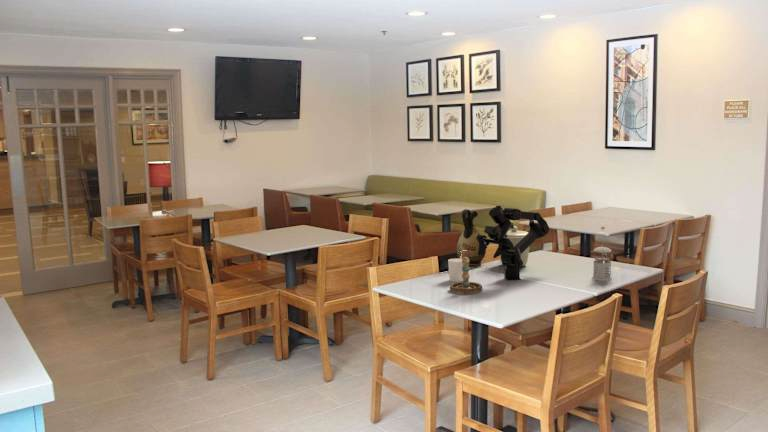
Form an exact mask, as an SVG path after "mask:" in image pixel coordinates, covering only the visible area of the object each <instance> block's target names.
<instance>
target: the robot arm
mask: <svg viewBox="0 0 768 432" xmlns="http://www.w3.org/2000/svg"><path fill="white" fill-rule="evenodd" d="M488 216H490V218H491V219H492V221H493V222H494V223H495V224H496V225H495V226H491V225H485V227H484V230H483V233H484V234H481V233H480V234H479V235H477V237H476V239H477V241H478V242H479V250H478V255H479V256H480V255H481V254H482V253H483V252H484V251H485V250H486V251H487V248H488V246H489V245H490V244H494V245H498V246H497V247H496V248H497V249H496V250H495V253H494V254H493V257H492V258H493V259H496V258H498V257H500V255H501V260H500V262H501V261H502V263H501V265H502V266H504V265H505V266H504V267H505V268H504V270H503V272H504V275H503V276H504V278H505V279H506V280H507V281H513V280H514V281H515V280H516V281H517V280H521V277H520V276H521V275H520V273H521V272H520V271H521V270H520V269H521V268H522V267H524V266H523V261H522V260H521V254H522V253H523V252H524V251H525V250H526V249H527V248H528V247H529V248H530V246H531V245H532V244H533V243H535V241H536V240H537V239H540V238H543V237H545V236H546V235H548V233H549V232H550V226H549V224H548V223H547V220H545V219H544V217H542V215H541V213H540V212H537V211H536V212H535V211H522V210H521V209H518V208H515V207H505V208H502V206H501V205H496V206H495V207H493V208H491V209H490V210H489V211H488ZM520 220H528V221H529V222H528V226H529V232H528V234H527V235H526V236H525V237H524V238H523V239H522V240H521V241H519V242H518V243H517V244H516V245H515V246H514V245H513V243H512V242H511V240H510V239H509V238H507V235H506V234H507V232H508V230H511V228H514V226H515V225H514V223H513V222H512V221H514V222H515V221H520ZM535 221H536V222H535ZM486 234H487V236H488V237H487V236H486ZM504 237H505V238H504Z"/></svg>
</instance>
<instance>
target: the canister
mask: <svg viewBox="0 0 768 432" xmlns="http://www.w3.org/2000/svg"><path fill="white" fill-rule="evenodd" d="M513 226H514V228H510V229H509V230H508V232H507V234H506V235H507V238H509V239H510V240H511V242H512V243H513V245H514V246H515V245H516V244H517V243H518V242H519V241H521V240H522V239H523V238H524V237H525V236H526V235H527V234H528V233H529V232H528V231H524V230H519V228H518V227H517V226H516V225H513ZM504 238H505V237H504ZM529 252H530V246H529V247H528V248H527V249H526V250H525V251H524V252H523V253H522V254H521V260H522V261H523V266H522V267H525V266H526V265H527V263H528V259H529ZM499 259H500V263H501V264H502V261H501V255H499ZM503 266H504V267H505V265H503Z"/></svg>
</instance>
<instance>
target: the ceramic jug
mask: <svg viewBox="0 0 768 432" xmlns="http://www.w3.org/2000/svg"><path fill="white" fill-rule="evenodd" d="M478 215H479V213H478V212H477V211H475V210H473V211H471V210H470V209H468V208H467V209H466V208H465V209H463V210H462V211H461V218H462V222H463V226H464V229H463V231H462V233H461V234H460V236H459V239H458V241H457V244H456V255H457V257H458V259H460V256H461V254H462V259H463V257H468V259H469V264H468V266H480V265H482V261H483V259H485V257H486V254H487V253H486V252H487V249H486V250H485V251H484V252H483V253H482V254H481V255H480V256H479V255H478V250H479V242H478V241H477V239H476V237H477V235H479V234H480V235H481V233H480V232H479V230H478V229H477V228H476V226H475V225H474V222H473V221H474V220H475V218H477V217H478ZM462 250H467V251H462ZM460 251H461V252H462V253H461V252H460Z"/></svg>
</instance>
